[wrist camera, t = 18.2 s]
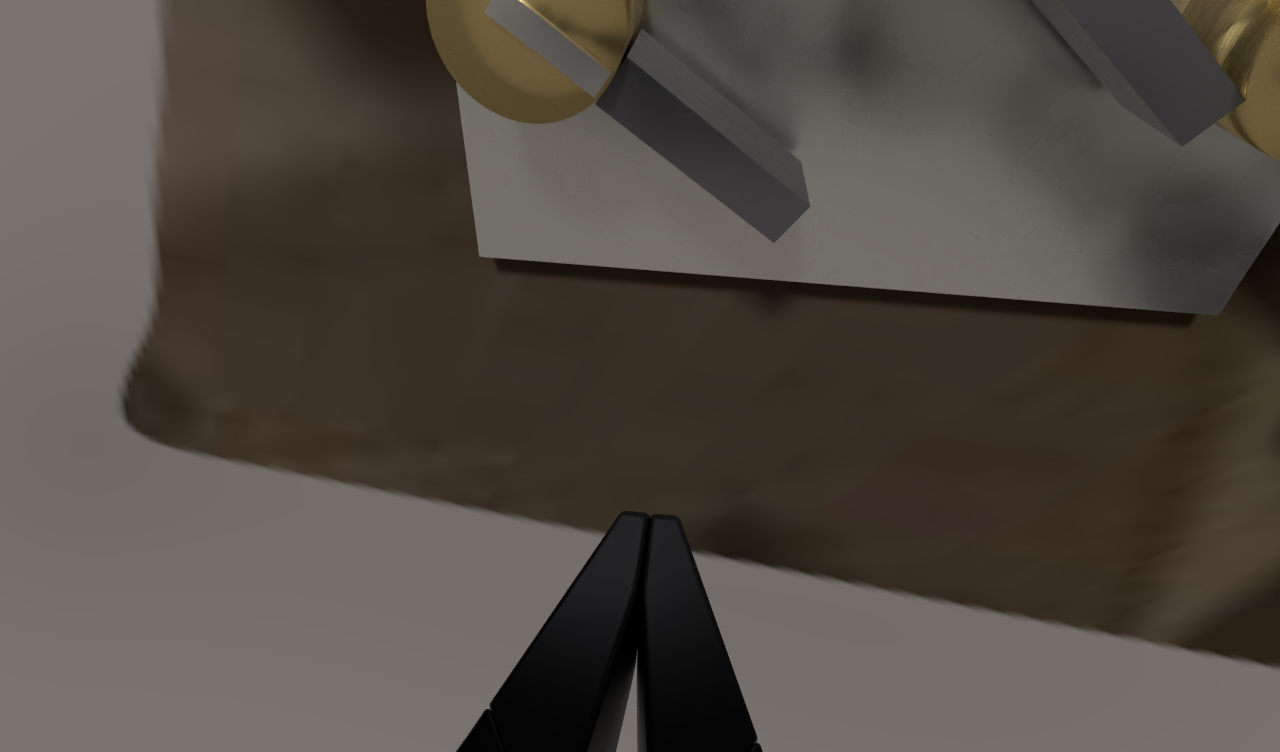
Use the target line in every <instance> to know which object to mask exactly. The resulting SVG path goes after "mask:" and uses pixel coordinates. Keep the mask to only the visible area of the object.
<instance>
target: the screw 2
mask: <svg viewBox="0 0 1280 752" xmlns="http://www.w3.org/2000/svg"><path fill="white" fill-rule="evenodd" d="M1182 16H1183V17H1184V19H1185V20H1186V21H1187V23H1188V24H1189V25H1190V27H1191V28H1192V29H1193V31H1194V32H1195V33H1196V35H1197V36H1198V37H1199V39H1200V40H1201V41H1202V42H1203V44H1204V45H1205V46H1206V48H1207V49H1208V50H1209V52H1210V53H1211V54H1212V56H1213V57H1214V58H1215V60H1216V61H1217V62H1218V63H1219V65H1220V66H1221V67H1222V69H1223V70H1224V71H1225V73H1226V74H1227V75H1228V77H1229V78H1230V79H1231V81H1232V82H1233V83H1234V84H1235V86H1236V87H1237V88H1238V90H1239V91H1240V92H1241V94H1242V95H1243V96H1244V98H1245V99H1246V101H1244V102H1243V103H1242V104H1240V105H1239V106H1238V107H1236V108H1235V109H1233V110H1232V111H1231V112H1229V113H1228V114H1227V115H1225V116H1224V117H1223V118H1221V119H1220V120H1218V121H1217V122H1216V123H1214V124H1215V125H1217V126H1218V127H1220V128H1222V129H1223V130H1225V131H1227V132H1229V133H1230V134H1232V135H1234V136H1235V137H1237V138H1239V139H1241V140H1242V141H1244V142H1246V143H1247V144H1249V145H1251V146H1253V147H1254V148H1256V149H1258V150H1259V151H1261V152H1263V153H1265V154H1266V155H1268V156H1270V157H1271V158H1273V159H1275V160H1277V161H1278V162H1280V0H1190V2H1189V3H1188V5H1187V7H1186V8H1185V10H1184V12H1183V13H1182Z"/></svg>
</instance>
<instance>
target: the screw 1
mask: <svg viewBox="0 0 1280 752" xmlns="http://www.w3.org/2000/svg"><path fill="white" fill-rule="evenodd" d="M643 6H644V0H426V10H427V17H428V23H429V27H430V31H431V35H432V38H433V41H434V43H435V46H436V49H437V51H438V53H439V55H440V57H441V59H442V61H443V63H444V65H445V66H446V68H447V69H448V71H449V72H450V74H451V75H452V77H453V78H454V79H455V80H456V82H457V83H458V84H459V85H460V87H461V88H462V89H463V90H464V91H465V92H466V93H467V94H468V95H469V96H471V97H472V98H473V99H474V100H475V101H477V102H478V103H479V104H481V105H482V106H484V107H485V108H487V109H488V110H490V111H492V112H494V113H496V114H498V115H500V116H502V117H505V118H508V119H511V120H514V121H518V122H523V123H531V124H545V123H553V122H558V121H562V120H565V119H568V118H570V117H573V116H575V115H576V114H578V113H580V112H582V111H583V110H585V109H586V108H588V107H589V106H590V105H592V104H593V103H594V102H595V101H596V100H597V99H598V100H597V102H596V103H595V105H597V106H598V107H599V108H600V109H602V110H603V111H604V112H606V113H607V114H608V115H609V116H611V117H612V118H613V119H615V120H616V121H617V122H618V123H620V124H621V125H622V126H624V127H625V128H626V129H627V130H629V131H630V132H631V133H633V134H634V135H635V136H636V137H638V138H639V139H640V140H642V141H643V142H644V143H645V144H647V145H648V146H649V147H651V148H652V149H653V150H654V151H656V152H657V153H658V154H660V155H661V156H662V157H664V158H665V159H666V160H667V161H669V162H670V163H671V164H673V165H674V166H675V167H676V168H678V169H679V170H680V171H682V172H683V173H684V174H685V175H687V176H688V177H689V178H691V179H692V180H693V181H694V182H696V183H697V184H698V185H700V186H701V187H702V188H703V189H705V190H706V191H707V192H709V193H710V194H711V195H712V196H714V197H715V198H716V199H718V200H719V201H720V202H721V203H723V204H724V205H725V206H727V207H728V208H729V209H730V210H732V211H733V212H734V213H736V214H737V215H738V216H739V217H741V218H742V219H743V220H745V221H746V222H747V223H748V224H750V225H751V226H752V227H754V228H755V229H756V230H757V231H759V232H760V233H761V234H763V235H764V236H765V237H767V238H768V239H769V240H770V241H772V242H773V243H775V242H776V241H777V240H778V239H779V238H780V237H781V236H782V235H783V234H784V233H785V232H786V231H787V230H788V229H789V228H790V227H791V226H792V225H793V224H794V223H795V222H796V221H797V220H798V219H799V218H800V217H801V216H802V214H803V213H804V212H805V211H806V210H807V209H808V208H809V207H810V202H809V197H808V192H807V187H806V183H805V178H804V173H803V168H802V163H801V161H800V160H799V159H797V158H796V157H795V156H794V155H793V154H791V153H790V152H789V151H788V150H787V149H785V148H784V147H783V146H782V145H781V144H779V143H778V142H777V141H776V140H775V139H774V138H772V137H771V136H770V135H769V134H768V133H766V132H765V131H764V130H763V129H762V128H760V127H759V126H758V125H757V124H756V123H754V122H753V121H752V120H751V119H750V118H748V117H747V116H746V115H745V114H744V113H742V112H741V111H740V110H739V109H738V108H737V107H735V106H734V105H733V104H732V103H731V102H729V101H728V100H727V99H726V98H725V97H723V96H722V95H721V94H720V93H719V92H717V91H716V90H715V89H714V88H713V87H711V86H710V85H709V84H708V83H707V82H705V81H704V80H703V79H702V78H701V77H700V76H698V75H697V74H696V73H695V72H694V71H692V70H691V69H690V68H689V67H688V66H686V65H685V64H684V63H683V62H682V61H680V60H679V59H678V58H677V57H676V56H674V55H673V54H672V53H671V52H670V51H669V50H667V49H666V48H665V47H664V46H663V45H661V44H660V43H659V42H658V41H657V40H655V39H654V38H653V37H652V36H651V35H649V34H648V33H647V32H646V31H645V30H643V29H641V30H640V32H639V33H638V34H637V36H636V37H635V35H636V32H637V30H638V27H639V24H640V21H641V17H642V13H643ZM634 37H635V39H634ZM633 39H634V40H633ZM632 41H633V42H632Z"/></svg>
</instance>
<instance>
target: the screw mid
mask: <svg viewBox="0 0 1280 752" xmlns="http://www.w3.org/2000/svg"><path fill="white" fill-rule="evenodd" d="M1031 1H1032V2H1033V3H1034V4H1035V5H1036V6H1037V8H1038V9H1039V10H1040V11H1041V12H1042V13H1043V15H1044V16H1045V17H1046V18H1047V19H1048V20H1049V22H1050V23H1051V24H1052V25H1053V26H1054V28H1055V29H1056V30H1057V31H1058V32H1059V33H1060V35H1061V36H1062V37H1063V38H1064V39H1065V40H1066V42H1067V43H1068V44H1069V45H1070V46H1071V47H1072V49H1073V50H1074V51H1075V52H1076V53H1077V55H1078V56H1079V57H1080V58H1081V59H1082V60H1083V62H1084V63H1085V64H1086V65H1087V66H1088V67H1089V69H1090V70H1091V71H1092V72H1093V73H1094V74H1095V76H1096V77H1097V78H1098V79H1099V80H1100V82H1101V83H1102V84H1103V85H1104V86H1105V87H1106V89H1107V90H1108V91H1109V92H1110V93H1111V94H1112V96H1113V97H1114V98H1115V99H1116V100H1117V101H1118V103H1119V104H1120V105H1121V106H1122V107H1124V108H1125V109H1127V110H1128V111H1130V112H1131V113H1133V114H1134V115H1136V116H1137V117H1139V118H1140V119H1142V120H1143V121H1144V122H1146V123H1147V124H1149V125H1150V126H1152V127H1153V128H1155V129H1156V130H1158V131H1159V132H1161V133H1162V134H1164V135H1165V136H1167V137H1168V138H1170V139H1171V140H1173V141H1174V142H1175V143H1177V144H1178V145H1180V146H1181V147H1183V146H1184V145H1185V144H1187V143H1188V142H1190V141H1191V140H1192V139H1194V138H1195V137H1196V136H1198V135H1199V134H1201V133H1202V132H1203V131H1205V130H1206V129H1207V128H1209V127H1210V126H1212V125H1213V124H1214V123H1216V122H1217V121H1218V120H1220V119H1221V118H1223V117H1224V116H1225V115H1227V114H1228V113H1229V112H1231V111H1232V110H1233V109H1235V108H1236V107H1238V106H1239V105H1240V104H1242V103H1243V102H1244V101H1246V99H1245V98H1244V96H1243V95H1242V94H1241V92H1240V91H1239V90H1238V88H1237V87H1236V86H1235V84H1234V83H1233V82H1232V81H1231V79H1230V78H1229V77H1228V75H1227V74H1226V73H1225V71H1224V70H1223V69H1222V67H1221V66H1220V65H1219V63H1218V62H1217V61H1216V60H1215V58H1214V57H1213V56H1212V54H1211V53H1210V52H1209V50H1208V49H1207V48H1206V46H1205V45H1204V44H1203V42H1202V41H1201V40H1200V39H1199V37H1198V36H1197V35H1196V33H1195V32H1194V31H1193V29H1192V28H1191V27H1190V25H1189V24H1188V23H1187V21H1186V20H1185V19H1184V17H1183V16H1182V15H1181V14H1180V12H1179V11H1178V10H1177V8H1176V7H1175V6H1174V4H1173V3H1172V2H1171V0H1031Z"/></svg>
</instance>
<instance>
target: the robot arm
mask: <svg viewBox="0 0 1280 752" xmlns="http://www.w3.org/2000/svg"><path fill="white" fill-rule="evenodd" d="M637 651H638V655H637ZM637 656H638V657H637ZM636 657H637V736H638V737H637V739H638V740H637V742H638V752H762V749H761V746H760V744H759V743H756V742H757V735H756V732H755V729H754V727H753V724H752V721H751V718H750V715H749V712H748V710H747V707H746V704H745V701H744V698H743V696H742V693H741V690H740V687H739V684H738V681H737V679H736V676H735V673H734V670H733V667H732V665H731V662H730V659H729V656H728V653H727V650H726V648H725V645H724V642H723V639H722V636H721V633H720V631H719V628H718V625H717V622H716V619H715V617H714V614H713V611H712V608H711V605H710V602H709V600H708V597H707V594H706V591H705V588H704V586H703V583H702V580H701V577H700V574H699V571H698V569H697V566H696V563H695V560H694V557H693V554H692V552H691V549H690V546H689V543H688V540H687V537H686V535H685V532H684V529H683V526H682V523H681V521H680V519H679V518H678V517H676V516H671V515H661V514H654V515H652V516H651V518H650V517H649V515H648V514H647V513H642V512H633V511H623V512H622V513H621V514H620V515H619V516H618V517H617V519H616V520H615V521H614V523H613V524H612V526H611V527H610V529H609V530H608V532H607V533H606V535H605V536H604V538H603V539H602V540H601V542H600V543H599V545H598V546H597V548H596V549H595V551H594V552H593V554H592V555H591V557H590V558H589V559H588V561H587V562H586V564H585V565H584V567H583V568H582V570H581V571H580V573H579V574H578V576H577V577H576V579H575V580H574V581H573V583H572V584H571V586H570V587H569V589H568V590H567V592H566V593H565V595H564V596H563V598H562V599H561V600H560V602H559V603H558V605H557V606H556V608H555V609H554V611H553V612H552V614H551V615H550V616H549V618H548V619H547V621H546V622H545V624H544V625H543V627H542V628H541V630H540V631H539V633H538V634H537V636H536V637H535V638H534V640H533V641H532V643H531V644H530V646H529V647H528V649H527V650H526V652H525V653H524V654H523V656H522V658H521V659H520V660H519V662H518V663H517V665H516V666H515V668H514V669H513V670H512V672H511V674H510V675H509V676H508V678H507V679H506V681H505V682H504V684H503V685H502V687H501V688H500V690H499V691H498V692H497V694H496V695H495V697H494V698H493V700H492V701H491V703H490V709H486V710H485V711H484V712H483V714H482V716H481V717H480V718H479V720H478V721H477V723H476V724H475V726H474V727H473V729H472V730H471V731H470V733H469V734H468V736H467V737H466V738H465V740H464V741H463V743H462V744H461V745H460V747H459V748H458V750H457V751H456V752H616V749H617V744H618V740H619V735H620V732H621V727H622V723H623V719H624V714H625V710H626V706H627V700H628V697H629V692H630V688H631V684H632V680H633V674H634V669H635V665H636Z"/></svg>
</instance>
